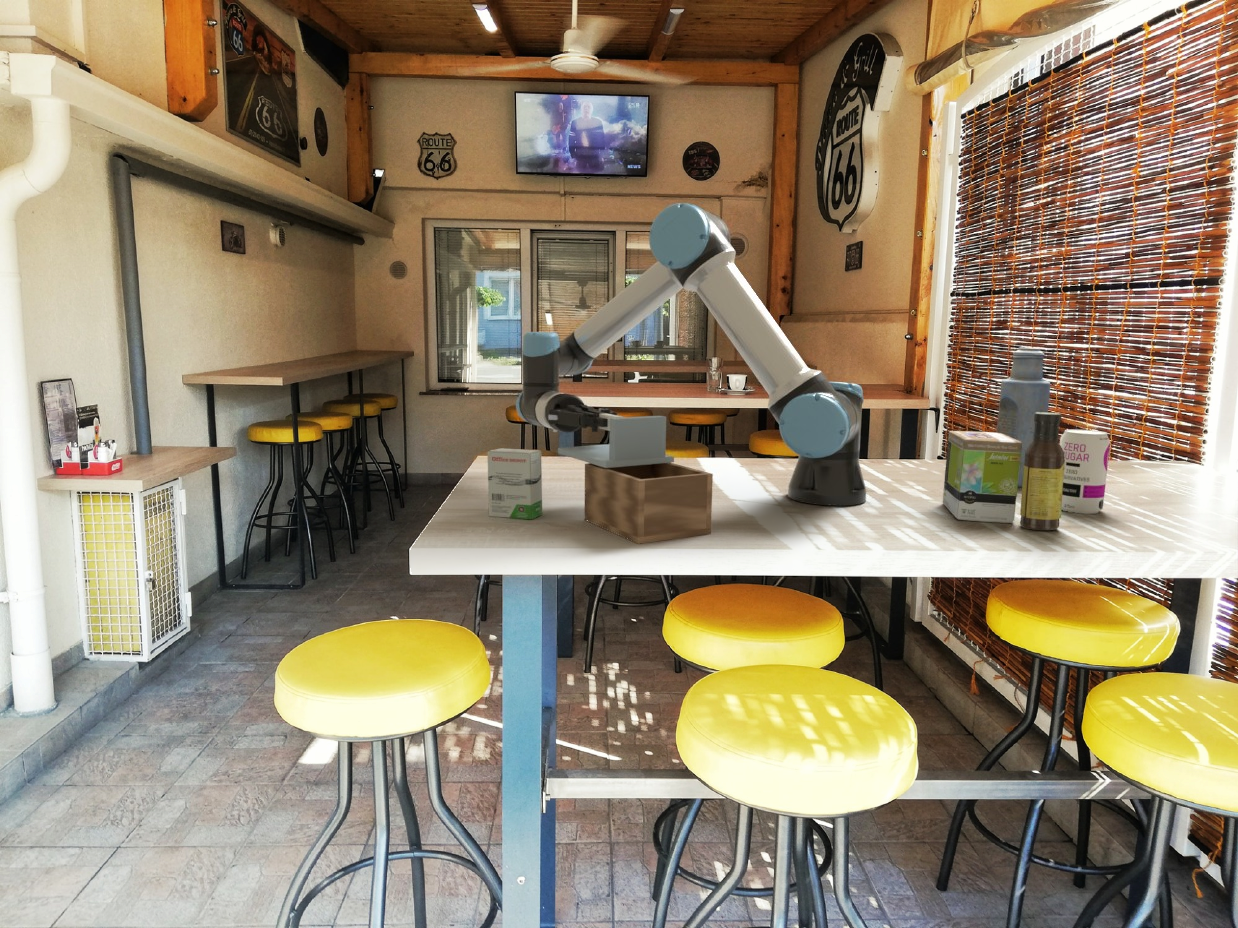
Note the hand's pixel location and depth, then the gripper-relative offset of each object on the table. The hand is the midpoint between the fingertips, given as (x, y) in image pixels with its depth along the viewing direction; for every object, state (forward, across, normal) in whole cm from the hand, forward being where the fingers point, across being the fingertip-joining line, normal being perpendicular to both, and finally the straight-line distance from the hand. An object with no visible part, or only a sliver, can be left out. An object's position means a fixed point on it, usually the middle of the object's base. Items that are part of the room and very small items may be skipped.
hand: (620, 424), depth 145 cm
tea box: (+28, -61, -17) cm, 69 cm away
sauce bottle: (+40, -60, -17) cm, 75 cm away
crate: (+9, 0, -16) cm, 19 cm away
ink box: (-9, +16, -17) cm, 25 cm away
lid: (-2, 0, -6) cm, 7 cm away
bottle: (+12, -95, -17) cm, 97 cm away
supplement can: (+35, -81, -17) cm, 90 cm away
